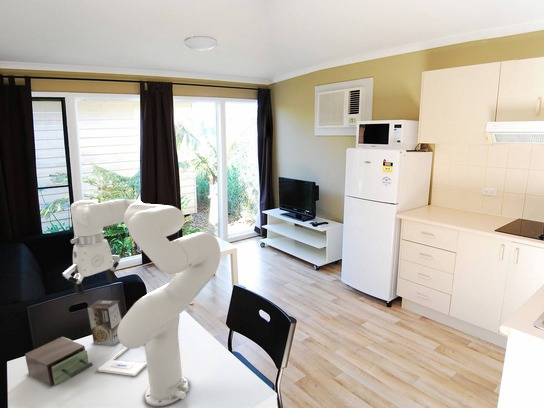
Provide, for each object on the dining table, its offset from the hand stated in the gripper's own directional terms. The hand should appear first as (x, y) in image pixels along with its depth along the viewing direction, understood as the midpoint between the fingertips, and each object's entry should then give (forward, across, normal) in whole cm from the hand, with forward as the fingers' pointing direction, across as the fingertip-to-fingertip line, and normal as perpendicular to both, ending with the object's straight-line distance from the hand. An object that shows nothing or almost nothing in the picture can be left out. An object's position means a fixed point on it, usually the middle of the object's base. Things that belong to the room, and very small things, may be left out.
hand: (96, 287), depth 116 cm
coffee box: (+33, +12, +19) cm, 40 cm away
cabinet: (+33, -7, +17) cm, 37 cm away
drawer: (+32, -7, +11) cm, 34 cm away
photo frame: (+32, +9, -1) cm, 34 cm away
